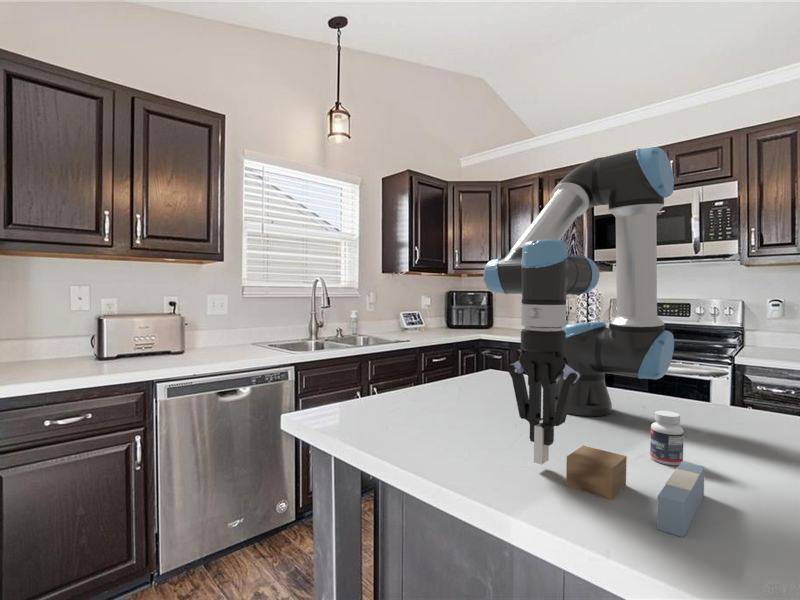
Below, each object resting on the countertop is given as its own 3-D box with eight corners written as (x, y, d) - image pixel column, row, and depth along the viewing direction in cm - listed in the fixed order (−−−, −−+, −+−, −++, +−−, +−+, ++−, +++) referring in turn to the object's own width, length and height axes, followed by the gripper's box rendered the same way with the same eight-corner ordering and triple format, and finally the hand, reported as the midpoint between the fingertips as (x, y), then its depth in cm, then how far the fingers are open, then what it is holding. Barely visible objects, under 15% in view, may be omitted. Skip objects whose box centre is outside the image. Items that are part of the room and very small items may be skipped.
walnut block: (566, 486, 72) (566, 456, 71) (582, 473, 77) (583, 445, 77) (611, 501, 67) (612, 468, 67) (626, 486, 72) (626, 456, 72)
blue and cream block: (657, 528, 59) (657, 494, 59) (681, 489, 71) (681, 459, 70) (683, 537, 57) (684, 501, 57) (703, 494, 69) (704, 465, 68)
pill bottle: (644, 455, 85) (644, 409, 85) (669, 454, 85) (670, 409, 85) (662, 466, 80) (663, 417, 79) (689, 465, 80) (690, 417, 80)
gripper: (499, 327, 79) (497, 457, 80) (571, 332, 70) (569, 478, 71) (519, 325, 85) (517, 446, 85) (588, 329, 76) (586, 465, 76)
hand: (541, 461), depth 78 cm, fingers closed
